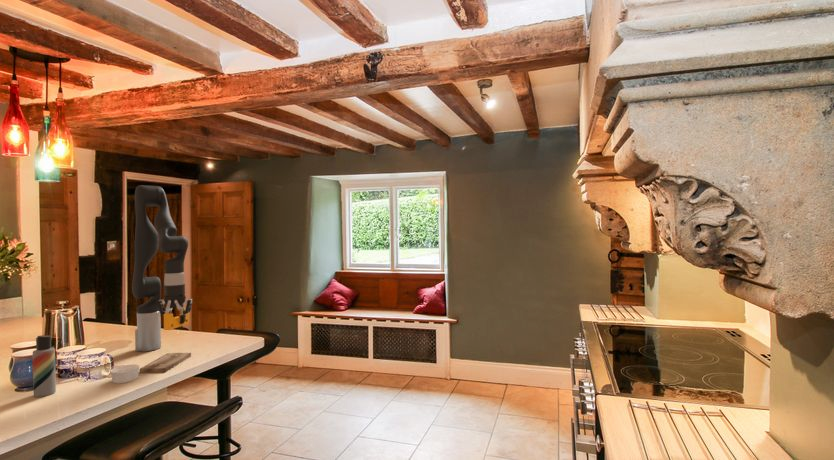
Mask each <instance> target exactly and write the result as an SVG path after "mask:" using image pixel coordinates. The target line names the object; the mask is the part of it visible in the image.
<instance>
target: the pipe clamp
mask: <svg viewBox="0 0 834 460" xmlns="http://www.w3.org/2000/svg"><path fill="white" fill-rule="evenodd" d="M185 309H186V307H185ZM188 324H190V312H189V313H187V314H186V321H185V322H184V324H180V314H179V315H178V316H174V313H173V312H171V313H166V314H164V315H163V331H172V330H174V329H176V328H181V327H183V326H186V325H188Z"/></svg>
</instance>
